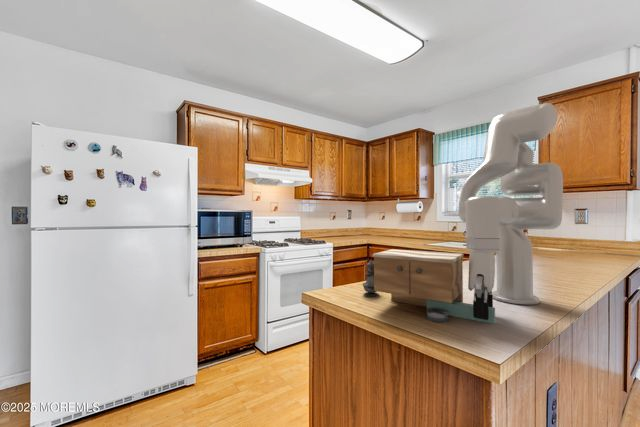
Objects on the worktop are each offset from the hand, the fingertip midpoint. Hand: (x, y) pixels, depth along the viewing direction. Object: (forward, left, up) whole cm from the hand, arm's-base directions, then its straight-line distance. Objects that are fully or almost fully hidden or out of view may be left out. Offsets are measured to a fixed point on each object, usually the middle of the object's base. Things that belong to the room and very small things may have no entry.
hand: (483, 313), depth 74 cm
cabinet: (+3, -15, -2) cm, 16 cm away
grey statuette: (-5, -33, -2) cm, 34 cm away
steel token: (+7, -9, -2) cm, 12 cm away
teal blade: (+1, -5, -2) cm, 6 cm away
